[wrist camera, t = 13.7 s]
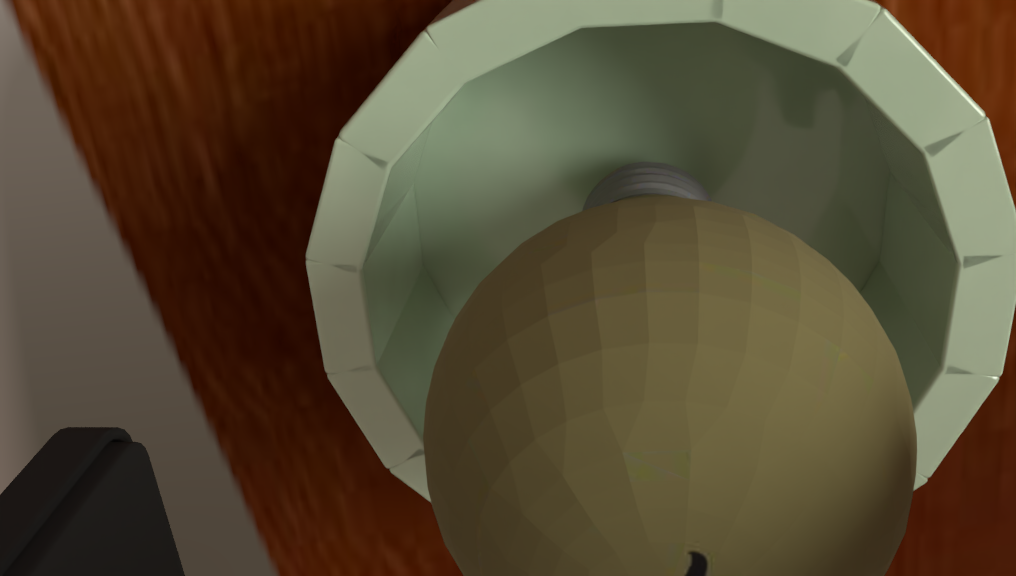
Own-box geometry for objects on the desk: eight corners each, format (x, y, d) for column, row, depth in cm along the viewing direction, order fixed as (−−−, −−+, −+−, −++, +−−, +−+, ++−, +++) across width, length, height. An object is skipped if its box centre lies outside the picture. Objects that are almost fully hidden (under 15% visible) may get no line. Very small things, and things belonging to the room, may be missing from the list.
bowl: (410, 428, 21) (359, 571, 17) (343, -62, 16) (251, -25, 12) (894, 434, 20) (962, 591, 16) (968, -100, 15) (1091, -72, 11)
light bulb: (796, 340, 18) (955, 835, 9) (512, 344, 19) (410, 804, 10) (813, 52, 16) (1048, 351, 7) (487, 71, 17) (321, 361, 8)
